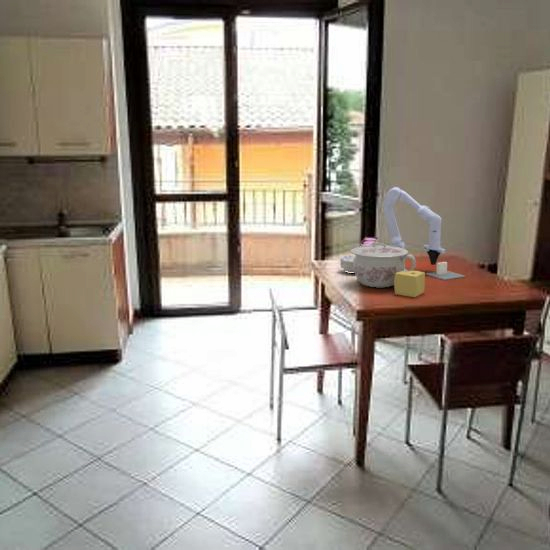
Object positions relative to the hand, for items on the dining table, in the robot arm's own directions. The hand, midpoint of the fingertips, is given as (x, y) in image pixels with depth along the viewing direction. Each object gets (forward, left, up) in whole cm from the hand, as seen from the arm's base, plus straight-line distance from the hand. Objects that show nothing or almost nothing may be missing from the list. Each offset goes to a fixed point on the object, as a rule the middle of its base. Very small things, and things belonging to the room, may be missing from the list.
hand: (433, 264), depth 287 cm
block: (0, -6, -4) cm, 8 cm away
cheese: (-36, -26, -5) cm, 45 cm away
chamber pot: (-39, -7, -5) cm, 40 cm away
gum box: (-17, +34, -5) cm, 38 cm away
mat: (+1, -8, -4) cm, 10 cm away
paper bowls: (-35, +21, -5) cm, 41 cm away
